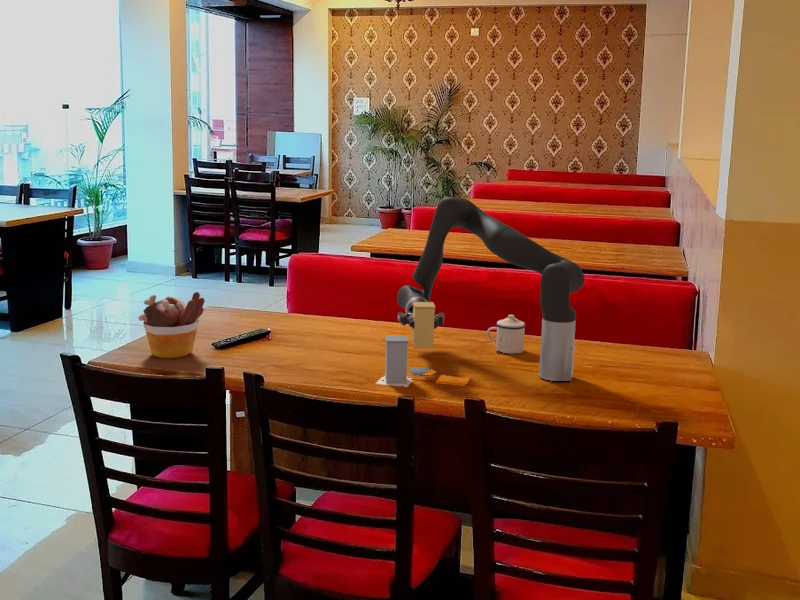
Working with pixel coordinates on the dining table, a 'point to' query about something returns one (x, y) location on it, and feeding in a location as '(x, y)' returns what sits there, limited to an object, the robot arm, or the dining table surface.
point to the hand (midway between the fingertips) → (424, 325)
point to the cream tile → (394, 384)
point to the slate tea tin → (396, 359)
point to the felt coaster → (419, 371)
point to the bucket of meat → (171, 325)
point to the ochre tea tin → (423, 324)
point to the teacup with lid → (509, 335)
